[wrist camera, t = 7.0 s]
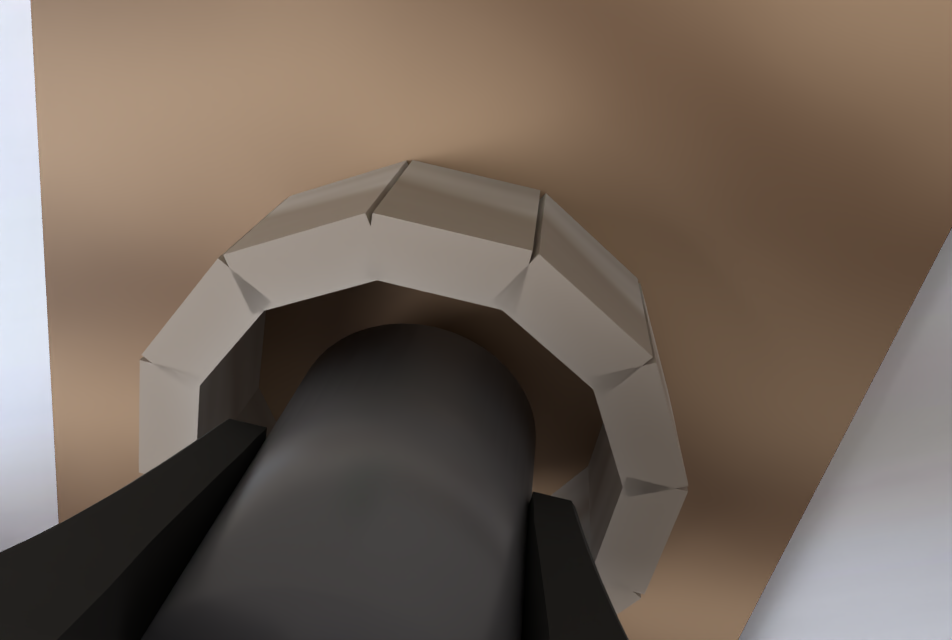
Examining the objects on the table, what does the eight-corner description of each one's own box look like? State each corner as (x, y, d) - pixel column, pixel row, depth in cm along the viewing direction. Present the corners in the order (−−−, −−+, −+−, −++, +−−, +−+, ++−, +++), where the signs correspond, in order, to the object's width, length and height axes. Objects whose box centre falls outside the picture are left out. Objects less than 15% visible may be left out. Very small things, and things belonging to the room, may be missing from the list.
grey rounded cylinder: (506, 550, 15) (469, 888, 10) (285, 497, 15) (125, 806, 10) (562, 356, 13) (555, 646, 8) (309, 297, 13) (123, 543, 8)
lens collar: (671, 723, 20) (692, 888, 17) (85, 580, 20) (-18, 714, 17) (1029, 3, 12) (1217, 26, 9) (58, -222, 12) (-151, -291, 9)
